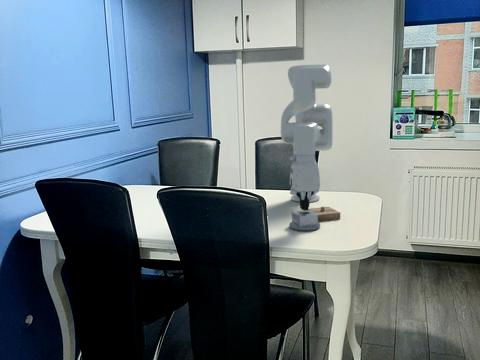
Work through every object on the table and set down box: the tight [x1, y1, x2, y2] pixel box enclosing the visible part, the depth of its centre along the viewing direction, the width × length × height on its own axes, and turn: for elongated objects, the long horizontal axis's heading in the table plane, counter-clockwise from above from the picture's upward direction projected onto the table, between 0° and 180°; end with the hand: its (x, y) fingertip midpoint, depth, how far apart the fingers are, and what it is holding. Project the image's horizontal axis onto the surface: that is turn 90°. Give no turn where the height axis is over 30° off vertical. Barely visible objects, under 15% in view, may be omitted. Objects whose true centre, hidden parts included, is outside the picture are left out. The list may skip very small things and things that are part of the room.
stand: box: [308, 206, 341, 222], centre depth 187 cm, size 10×10×4 cm
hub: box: [289, 221, 321, 232], centre depth 175 cm, size 11×11×4 cm
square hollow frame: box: [291, 210, 319, 227], centre depth 175 cm, size 7×7×4 cm
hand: (304, 209), depth 173 cm, fingers closed
